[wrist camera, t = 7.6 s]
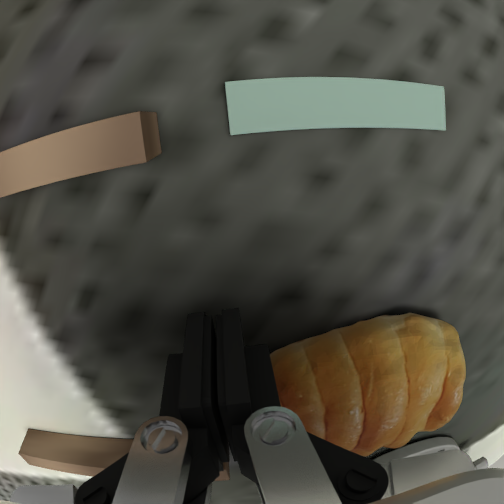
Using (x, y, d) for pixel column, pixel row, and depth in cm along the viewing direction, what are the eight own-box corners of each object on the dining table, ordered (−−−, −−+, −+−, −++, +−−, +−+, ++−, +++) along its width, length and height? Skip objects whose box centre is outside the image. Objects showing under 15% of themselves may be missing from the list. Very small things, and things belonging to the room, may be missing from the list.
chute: (156, 112, 8) (139, 111, 6) (227, 448, 14) (229, 479, 13) (-84, 195, 8) (-113, 210, 6) (38, 440, 14) (29, 464, 12)
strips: (437, 87, 8) (444, 87, 8) (390, 421, 15) (392, 426, 15) (224, 83, 8) (225, 82, 8) (267, 449, 15) (267, 454, 14)
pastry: (240, 430, 14) (246, 496, 11) (226, 322, 12) (231, 402, 8) (413, 398, 15) (442, 449, 11) (447, 292, 12) (499, 343, 9)
